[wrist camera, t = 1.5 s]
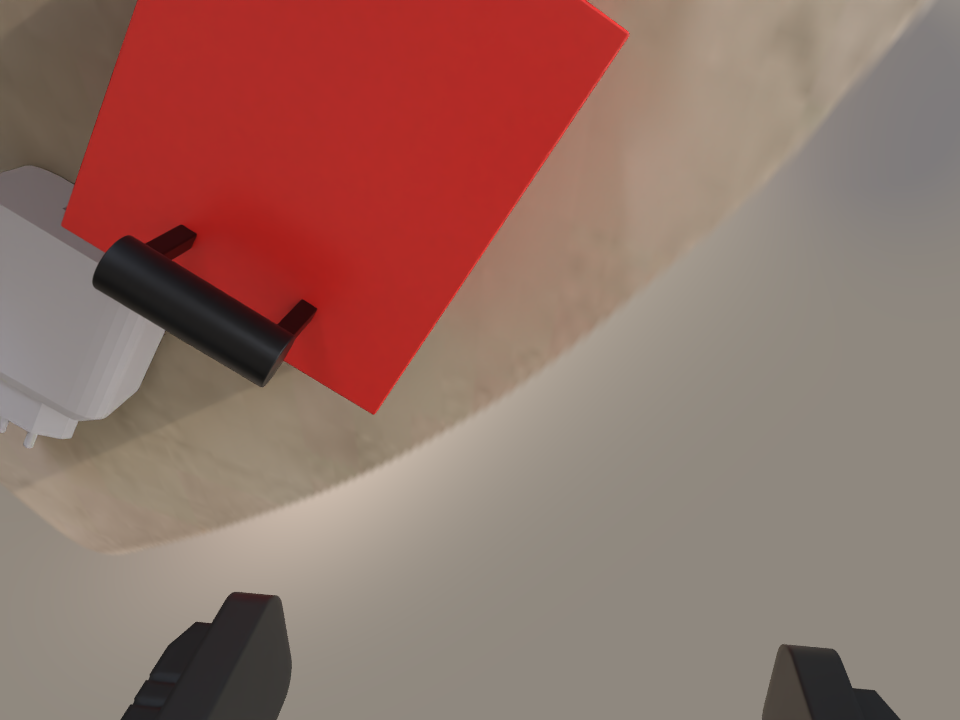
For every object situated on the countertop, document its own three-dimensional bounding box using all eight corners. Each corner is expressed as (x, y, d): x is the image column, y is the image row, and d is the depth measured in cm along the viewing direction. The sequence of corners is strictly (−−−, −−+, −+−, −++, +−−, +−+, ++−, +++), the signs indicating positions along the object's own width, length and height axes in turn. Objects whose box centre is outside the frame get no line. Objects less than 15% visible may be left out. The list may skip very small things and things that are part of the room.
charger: (-29, 376, 43) (37, 161, 36) (112, 456, 44) (202, 262, 37) (-97, 416, 38) (-35, 181, 32) (62, 504, 40) (152, 295, 33)
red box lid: (379, 406, 29) (336, 488, 24) (72, 220, 27) (-42, 268, 22) (629, 32, 22) (642, 39, 17) (238, -254, 20) (124, -338, 15)
